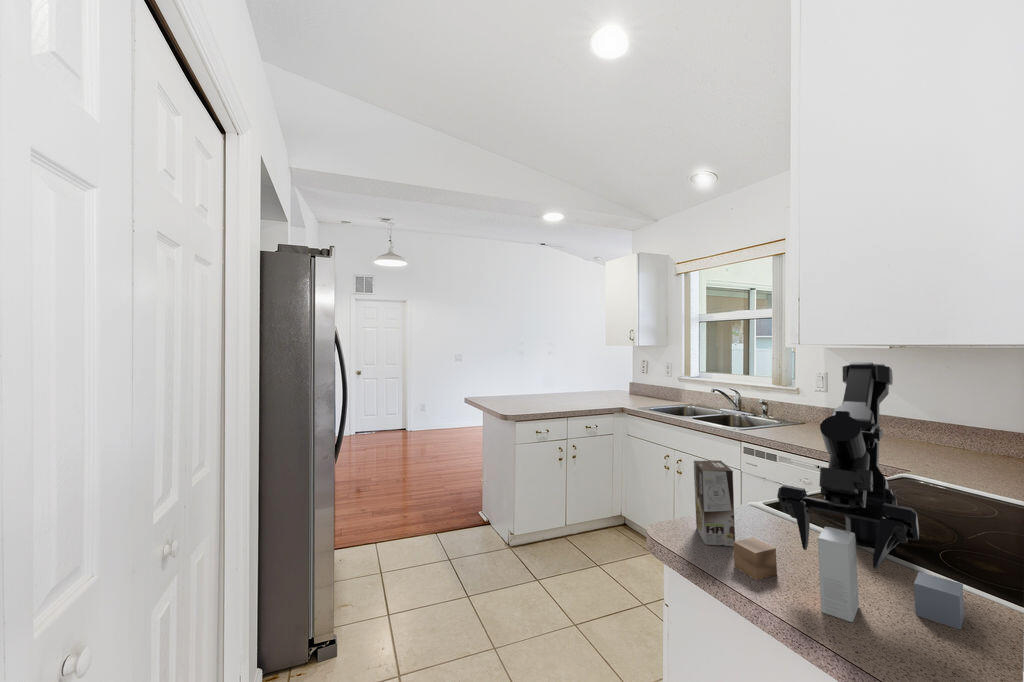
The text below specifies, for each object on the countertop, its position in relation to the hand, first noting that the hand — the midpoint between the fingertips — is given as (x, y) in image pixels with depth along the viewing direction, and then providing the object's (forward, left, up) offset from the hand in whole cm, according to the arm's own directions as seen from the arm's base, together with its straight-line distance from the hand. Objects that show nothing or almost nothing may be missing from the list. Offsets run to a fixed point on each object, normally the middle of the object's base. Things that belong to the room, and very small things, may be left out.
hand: (837, 557), depth 70 cm
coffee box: (+15, -24, -8) cm, 29 cm away
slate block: (-14, -2, -8) cm, 16 cm away
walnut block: (+10, -10, -8) cm, 16 cm away
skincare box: (0, 0, -8) cm, 8 cm away
